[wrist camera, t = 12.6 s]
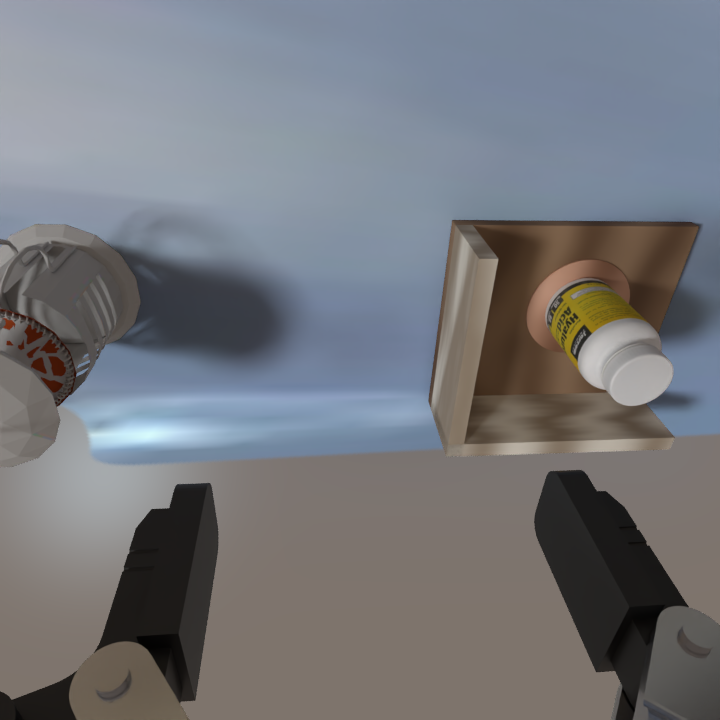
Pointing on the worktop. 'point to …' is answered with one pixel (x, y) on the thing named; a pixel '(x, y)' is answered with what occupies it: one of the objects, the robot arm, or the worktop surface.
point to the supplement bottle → (609, 341)
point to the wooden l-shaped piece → (542, 334)
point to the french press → (54, 327)
